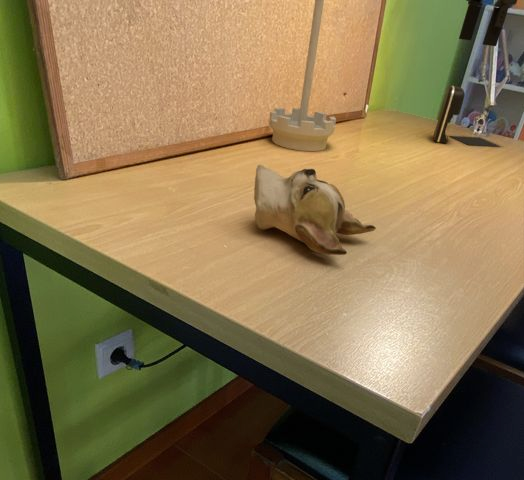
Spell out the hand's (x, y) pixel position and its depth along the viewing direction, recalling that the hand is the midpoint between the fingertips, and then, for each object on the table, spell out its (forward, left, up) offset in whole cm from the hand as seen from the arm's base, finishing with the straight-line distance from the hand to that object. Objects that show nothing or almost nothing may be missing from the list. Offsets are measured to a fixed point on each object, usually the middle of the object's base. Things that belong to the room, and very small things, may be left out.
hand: (476, 42), depth 111 cm
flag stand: (-11, +42, -20) cm, 48 cm away
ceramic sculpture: (-57, +58, -20) cm, 84 cm away
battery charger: (-3, +3, -20) cm, 21 cm away
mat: (-2, -7, -20) cm, 21 cm away
